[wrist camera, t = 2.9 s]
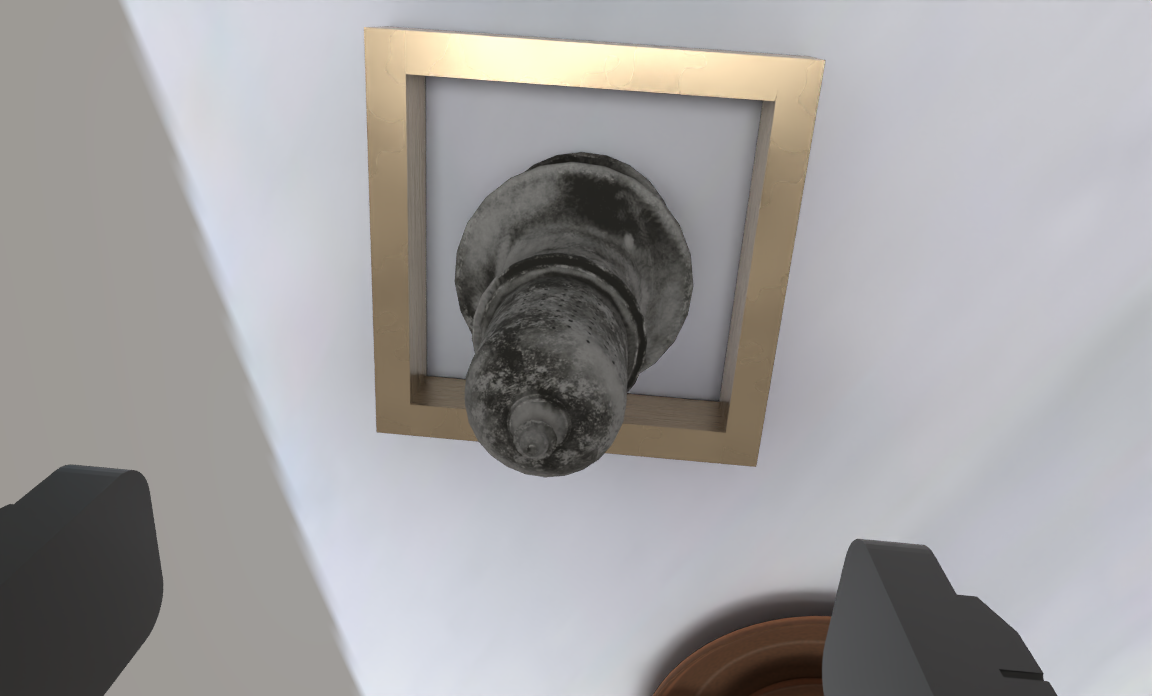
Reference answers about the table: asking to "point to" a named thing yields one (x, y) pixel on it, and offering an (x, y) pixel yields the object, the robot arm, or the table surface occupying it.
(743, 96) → the socket collar
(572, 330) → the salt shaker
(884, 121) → the table surface
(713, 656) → the cup and saucer
